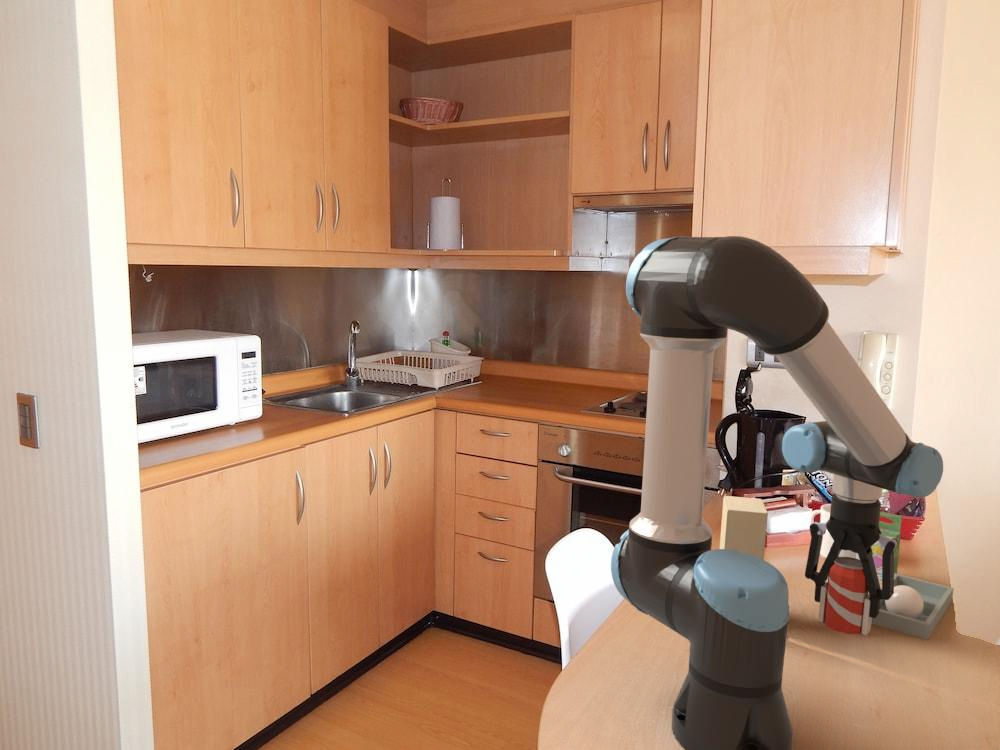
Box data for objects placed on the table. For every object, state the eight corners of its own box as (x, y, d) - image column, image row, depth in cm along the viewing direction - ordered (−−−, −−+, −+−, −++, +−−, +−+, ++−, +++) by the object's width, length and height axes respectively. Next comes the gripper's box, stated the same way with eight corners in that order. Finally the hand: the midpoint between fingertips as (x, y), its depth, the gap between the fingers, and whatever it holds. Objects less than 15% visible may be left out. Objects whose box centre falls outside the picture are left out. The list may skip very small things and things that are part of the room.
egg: (917, 630, 132) (921, 597, 131) (879, 619, 135) (882, 587, 135) (925, 618, 136) (929, 586, 135) (888, 608, 140) (891, 576, 139)
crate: (927, 644, 129) (929, 625, 128) (862, 624, 135) (864, 606, 135) (951, 604, 144) (953, 587, 144) (892, 589, 150) (894, 573, 150)
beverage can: (862, 641, 129) (869, 572, 127) (821, 631, 132) (827, 564, 131) (866, 626, 134) (872, 560, 133) (826, 617, 138) (832, 552, 136)
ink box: (853, 577, 156) (859, 512, 154) (859, 571, 159) (865, 508, 157) (891, 587, 152) (898, 520, 150) (896, 581, 155) (903, 515, 153)
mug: (857, 551, 170) (861, 505, 168) (866, 567, 161) (870, 519, 160) (803, 546, 172) (807, 501, 171) (809, 561, 164) (813, 513, 162)
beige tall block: (762, 632, 131) (772, 512, 128) (717, 627, 133) (726, 509, 130) (757, 612, 139) (766, 498, 136) (714, 607, 141) (722, 495, 138)
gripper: (925, 504, 127) (911, 637, 130) (805, 480, 139) (795, 603, 142) (914, 515, 121) (900, 654, 124) (790, 489, 133) (779, 616, 137)
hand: (844, 626), depth 133 cm, fingers closed on beverage can, 6 cm apart
